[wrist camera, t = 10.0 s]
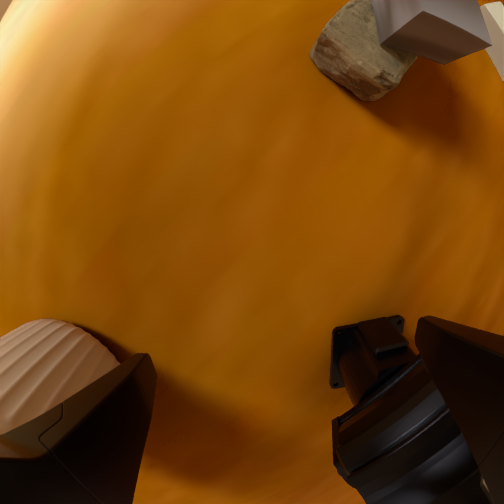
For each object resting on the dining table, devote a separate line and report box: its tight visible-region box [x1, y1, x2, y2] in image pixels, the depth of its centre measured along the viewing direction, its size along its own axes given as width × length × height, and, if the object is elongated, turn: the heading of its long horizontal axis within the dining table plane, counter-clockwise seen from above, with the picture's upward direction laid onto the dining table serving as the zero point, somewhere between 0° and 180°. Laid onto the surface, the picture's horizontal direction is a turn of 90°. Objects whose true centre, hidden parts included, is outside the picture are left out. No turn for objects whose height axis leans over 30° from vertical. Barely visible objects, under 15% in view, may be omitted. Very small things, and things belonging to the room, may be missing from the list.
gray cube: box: [371, 0, 492, 65], centre depth 9 cm, size 5×5×5 cm
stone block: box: [310, 0, 418, 101], centre depth 14 cm, size 6×12×5 cm, turn 146°
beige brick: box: [480, 1, 504, 81], centre depth 13 cm, size 8×5×4 cm, turn 36°
